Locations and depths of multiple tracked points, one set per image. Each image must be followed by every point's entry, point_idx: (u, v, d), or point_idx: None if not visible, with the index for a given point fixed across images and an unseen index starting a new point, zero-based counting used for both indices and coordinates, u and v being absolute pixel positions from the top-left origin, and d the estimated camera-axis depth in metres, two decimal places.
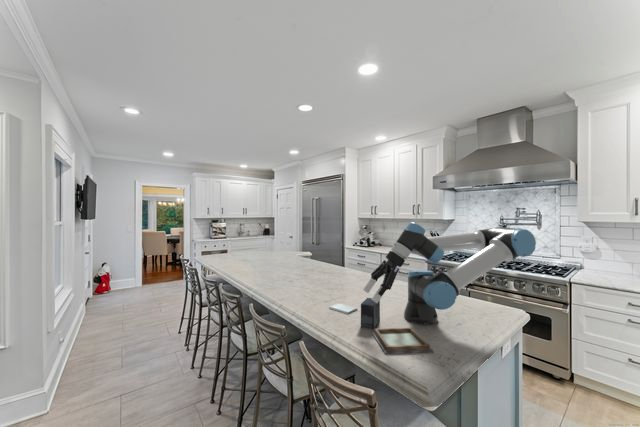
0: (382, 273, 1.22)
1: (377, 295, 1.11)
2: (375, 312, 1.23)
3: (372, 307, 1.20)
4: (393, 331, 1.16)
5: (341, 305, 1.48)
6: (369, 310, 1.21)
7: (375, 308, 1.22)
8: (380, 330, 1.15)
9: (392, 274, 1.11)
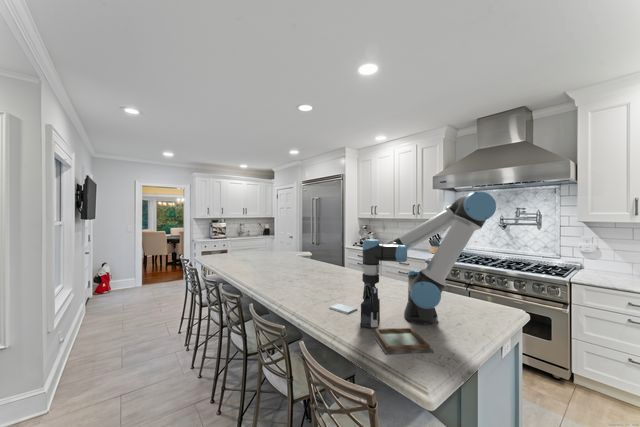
0: None
1: (373, 320, 1.19)
2: None
3: None
4: (393, 331, 1.16)
5: (341, 305, 1.48)
6: (369, 310, 1.21)
7: None
8: (380, 330, 1.15)
9: (374, 297, 1.19)
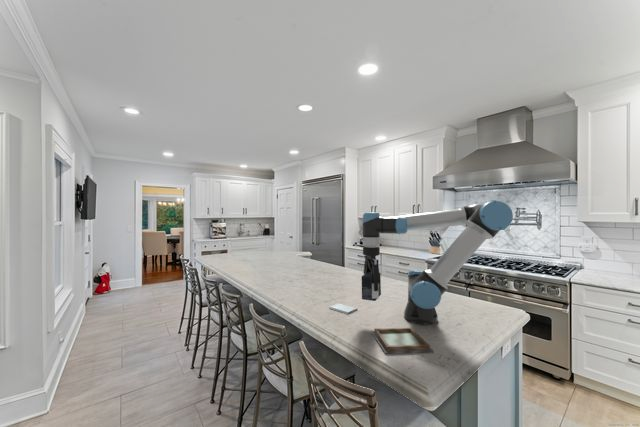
0: None
1: (374, 292, 1.19)
2: None
3: None
4: (393, 331, 1.16)
5: (341, 305, 1.48)
6: (370, 282, 1.21)
7: None
8: (380, 330, 1.15)
9: (375, 268, 1.19)
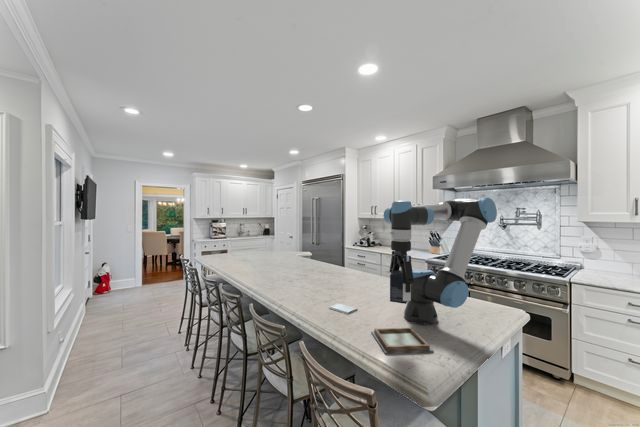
0: (398, 265, 1.12)
1: (406, 293, 1.02)
2: None
3: None
4: (393, 331, 1.16)
5: (341, 305, 1.48)
6: (400, 281, 1.04)
7: None
8: (380, 330, 1.15)
9: (407, 266, 1.01)
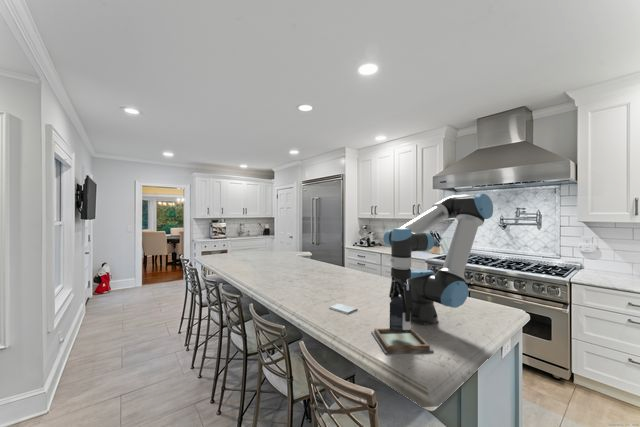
0: (398, 291, 1.12)
1: (405, 322, 1.02)
2: None
3: None
4: (393, 331, 1.16)
5: (341, 305, 1.48)
6: (400, 310, 1.04)
7: None
8: (380, 330, 1.15)
9: (407, 295, 1.01)
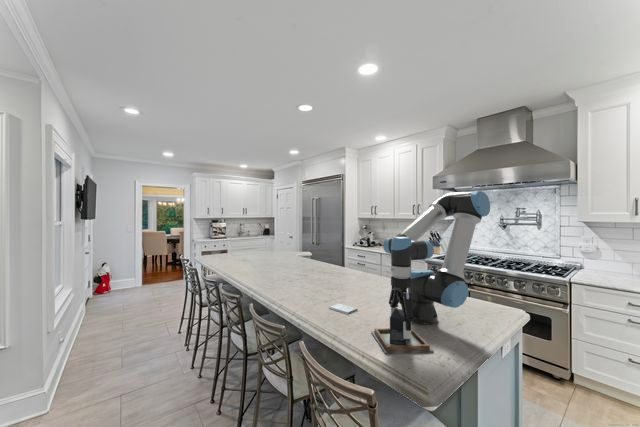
0: (398, 299, 1.13)
1: (406, 331, 1.02)
2: None
3: None
4: None
5: (341, 305, 1.48)
6: (400, 324, 1.04)
7: None
8: (380, 330, 1.15)
9: (407, 304, 1.01)
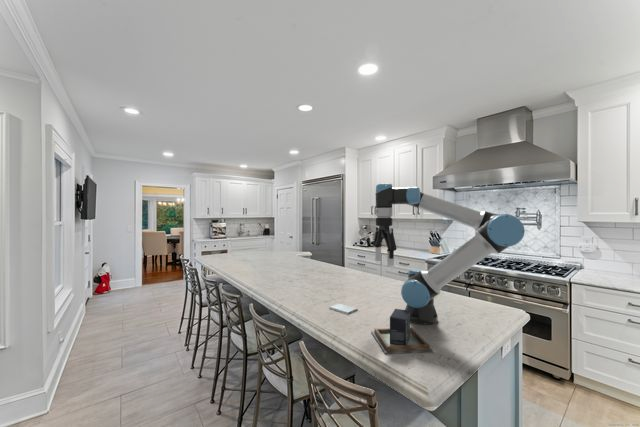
0: (381, 238, 1.32)
1: (390, 260, 1.21)
2: (407, 326, 1.05)
3: (404, 321, 1.03)
4: None
5: (341, 305, 1.48)
6: (400, 324, 1.04)
7: (407, 322, 1.05)
8: (380, 330, 1.15)
9: (390, 236, 1.21)
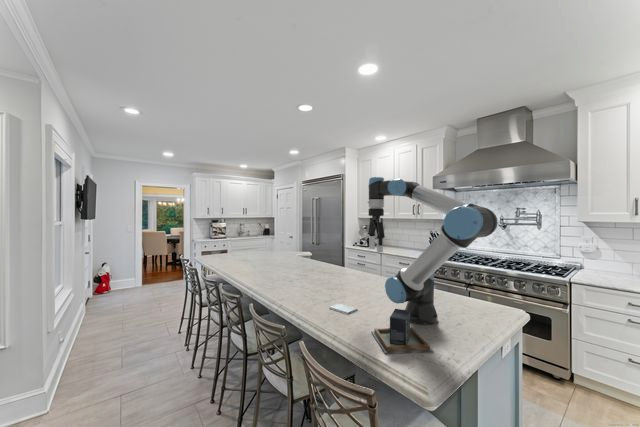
0: (374, 228, 1.43)
1: (379, 246, 1.32)
2: (407, 326, 1.05)
3: (404, 321, 1.03)
4: None
5: (341, 305, 1.48)
6: (400, 324, 1.04)
7: (407, 322, 1.05)
8: (380, 330, 1.15)
9: (379, 225, 1.32)
